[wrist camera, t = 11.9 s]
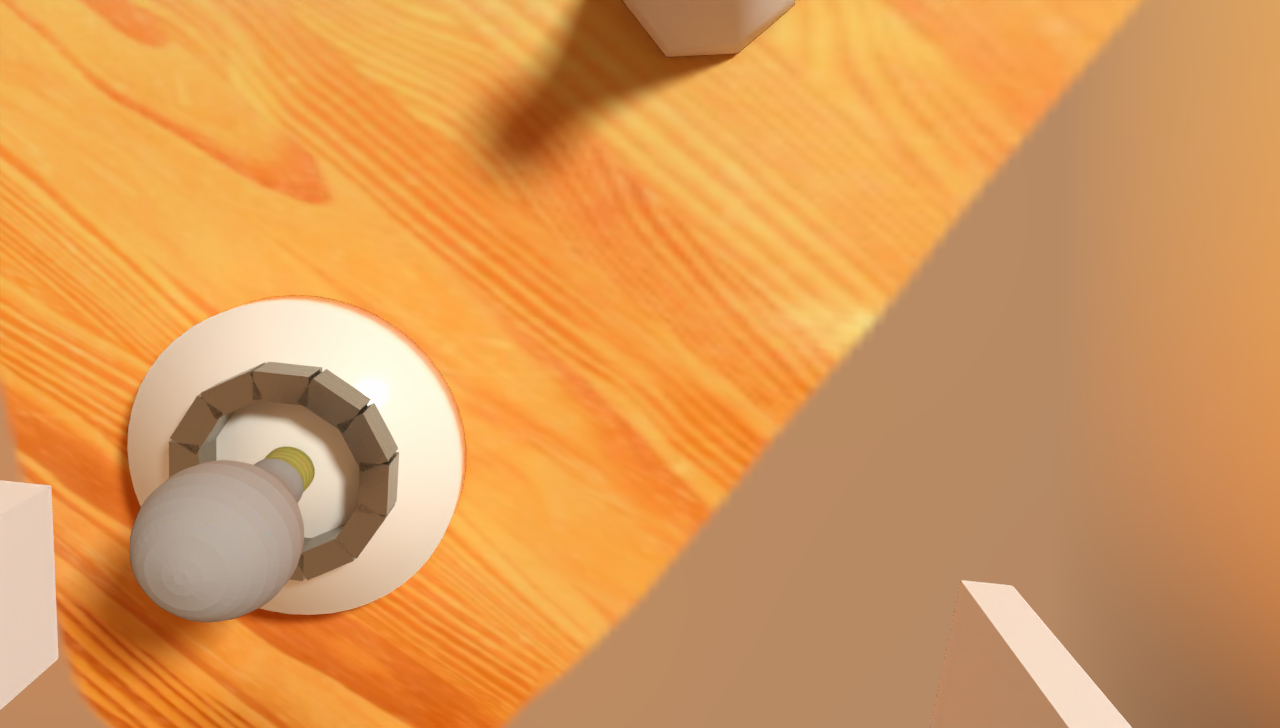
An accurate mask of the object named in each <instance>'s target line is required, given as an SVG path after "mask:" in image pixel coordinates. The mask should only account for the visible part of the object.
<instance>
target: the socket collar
mask: <svg viewBox="0 0 1280 728" xmlns="http://www.w3.org/2000/svg"><path fill="white" fill-rule="evenodd" d="M256 401H268V402H277V403H286V404H296V405H303V406H304V407H306V408H307V409H309V410H310V411H312V412H313V413H315V414H316V415H318V416H319V417H321V418H322V419H324V420H325V421H327V422H328V423H330V424H331V425H333V426H334V427H336V428H337V429H339V431H340V432H341V434H342V436H343V438H344V440H345V442H346V444H347V445H348V447H349V449H350V451H351V453H352V455H353V457H354V458H355V460H356V462H357V464H358V466H359V487H358V507H357V509H356V510H355V512H354V513H353V514H352V516H351V517H350V519H349V520H348V521H347V523H346V524H344V525H342V526H339V527H337V528H335V529H332V530H330V531H328V532H325V533H323V534H320V535H318V536H316V537H313V538H305V537H304V543H303V548H302V552H301V555H300V558H299V562H298V564H297V567H296V569H295V571H294V573H293V575H292V576H291V578H290V579H289V580H297V581H303V580H304V579H305V578H306V579H307V580H310V579H312V578H314V577H317V576H319V575H322V574H324V573H326V572H329V571H331V570H334V569H336V568H338V567H341V566H343V565H346V564H348V563H350V562H353V561H354V560H355V558H356V559H357V558H358V556H359V555H360V554H361V552H362V551H363V549H364V548H365V547H366V545H367V544H368V542H369V541H370V540H371V538H372V537H373V536H374V534H375V533H376V531H377V530H378V529H379V527H380V526H381V524H382V523H383V522H384V520H385V519H386V517H387V516H388V514H389V513H390V511H391V510H392V509H393V507H394V506H395V502H396V501H397V486H398V467H399V452H396V451H397V449H398V447H397V445H396V443H395V441H394V439H393V437H392V435H391V433H390V431H389V429H388V428H387V426H386V424H385V422H384V420H383V418H382V416H381V414H380V412H379V410H378V409H377V407H376V405H375V403H372V404H370V405H368V403H369V402H370V401H371V399H370V398H369V397H367V396H366V395H364V394H363V393H361V392H360V391H358V390H357V389H356V388H354V387H353V386H351V385H350V384H348V383H347V382H345V381H344V380H342V379H341V378H339V377H338V376H336V375H335V374H333V373H332V372H330V371H329V370H327V369H326V370H324V371H323V372H322V367H315V366H305V365H296V364H287V363H278V362H267V363H265V362H264V363H262V364H260V365H257V366H255V367H253V368H251V369H248V370H246V371H244V372H242V373H239V374H237V375H235V376H233V377H230V378H228V379H226V380H224V381H221V382H219V383H217V384H215V385H214V386H212V387H210V388H208V389H207V390H205V391H203V392H201V394H199V395H198V396H197V397H196V398H195V400H194V401H193V403H192V404H191V406H190V408H189V409H188V411H187V412H186V414H185V415H184V417H183V418H182V420H181V422H180V423H179V425H178V426H177V428H176V429H175V431H174V432H173V434H172V435H171V437H170V438H171V439H172V440H171V441H169V478H170V477H171V476H173V475H174V474H176V473H178V472H180V471H182V470H184V469H186V468H189V467H192V466H196V465H199V464H202V463H205V462H210V461H216V438H217V436H218V435H219V433H220V432H221V430H222V429H223V427H224V426H225V424H226V423H227V421H228V420H229V418H230V417H231V415H232V414H233V412H234V411H236V410H238V409H240V408H243V407H245V406H247V405H249V404H252V403H254V402H256Z"/></svg>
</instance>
